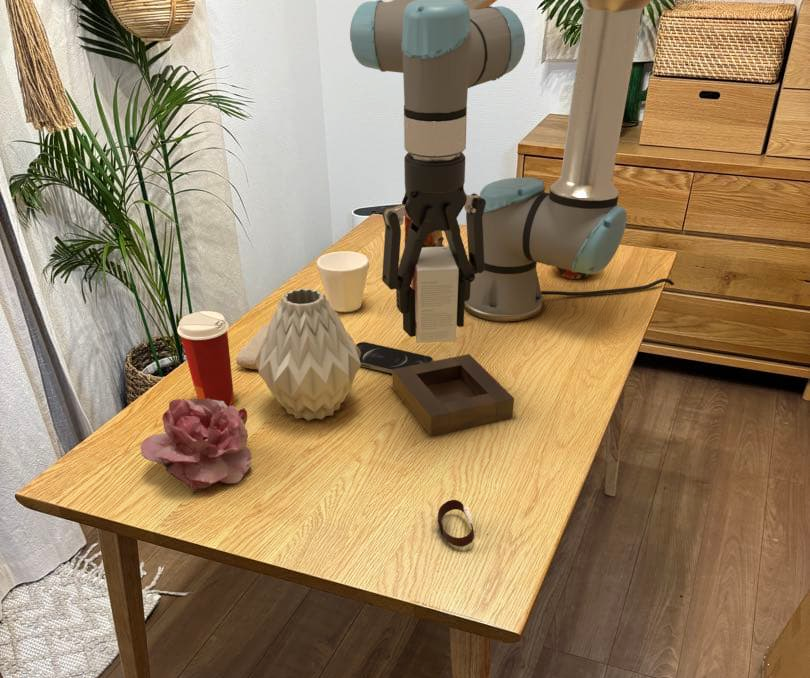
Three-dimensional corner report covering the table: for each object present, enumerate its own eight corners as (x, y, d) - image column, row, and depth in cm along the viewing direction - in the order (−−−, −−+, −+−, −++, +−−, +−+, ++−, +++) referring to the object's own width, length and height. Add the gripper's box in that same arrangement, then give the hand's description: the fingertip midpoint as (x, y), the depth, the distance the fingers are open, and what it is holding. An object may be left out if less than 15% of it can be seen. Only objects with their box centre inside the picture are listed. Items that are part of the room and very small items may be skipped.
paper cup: (248, 394, 130) (236, 313, 121) (225, 417, 124) (211, 334, 115) (207, 386, 132) (191, 306, 123) (182, 409, 126) (164, 327, 117)
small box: (410, 319, 115) (409, 247, 108) (449, 317, 115) (450, 244, 108) (416, 344, 109) (415, 270, 102) (456, 342, 109) (458, 267, 102)
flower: (119, 468, 109) (126, 408, 103) (180, 427, 120) (190, 370, 114) (212, 516, 107) (225, 458, 101) (265, 470, 119) (279, 415, 113)
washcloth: (336, 334, 147) (335, 318, 145) (300, 379, 134) (298, 363, 132) (277, 326, 149) (275, 311, 147) (236, 370, 136) (233, 354, 134)
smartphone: (361, 340, 143) (435, 357, 137) (361, 345, 143) (435, 362, 138) (339, 357, 138) (415, 375, 132) (339, 362, 138) (415, 380, 133)
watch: (481, 547, 100) (483, 525, 98) (445, 552, 99) (446, 530, 97) (465, 511, 106) (466, 489, 103) (431, 515, 105) (432, 493, 103)
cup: (370, 296, 160) (369, 250, 154) (370, 317, 152) (368, 269, 146) (321, 297, 160) (317, 251, 154) (318, 318, 152) (314, 270, 146)
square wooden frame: (468, 372, 135) (469, 353, 133) (512, 417, 124) (514, 398, 122) (392, 388, 131) (392, 369, 129) (430, 436, 120) (431, 416, 118)
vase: (250, 394, 130) (234, 285, 118) (344, 375, 135) (337, 268, 123) (278, 444, 118) (263, 329, 106) (379, 421, 123) (376, 308, 111)
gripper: (492, 135, 102) (483, 304, 117) (348, 154, 96) (359, 329, 112) (520, 150, 97) (507, 325, 112) (370, 171, 91) (377, 352, 106)
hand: (433, 327), depth 112 cm, fingers closed on small box, 7 cm apart
